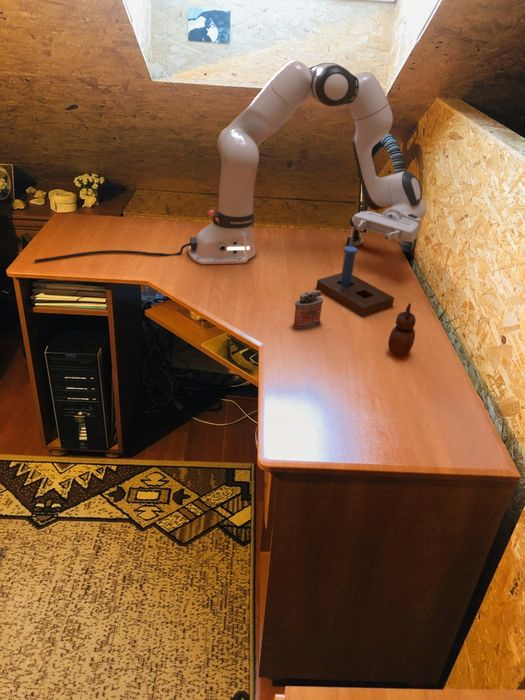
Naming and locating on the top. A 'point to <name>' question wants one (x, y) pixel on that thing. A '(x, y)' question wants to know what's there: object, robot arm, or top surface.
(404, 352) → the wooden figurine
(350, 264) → the peg
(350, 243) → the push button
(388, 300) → the rack
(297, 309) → the lighter
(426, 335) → the top surface
